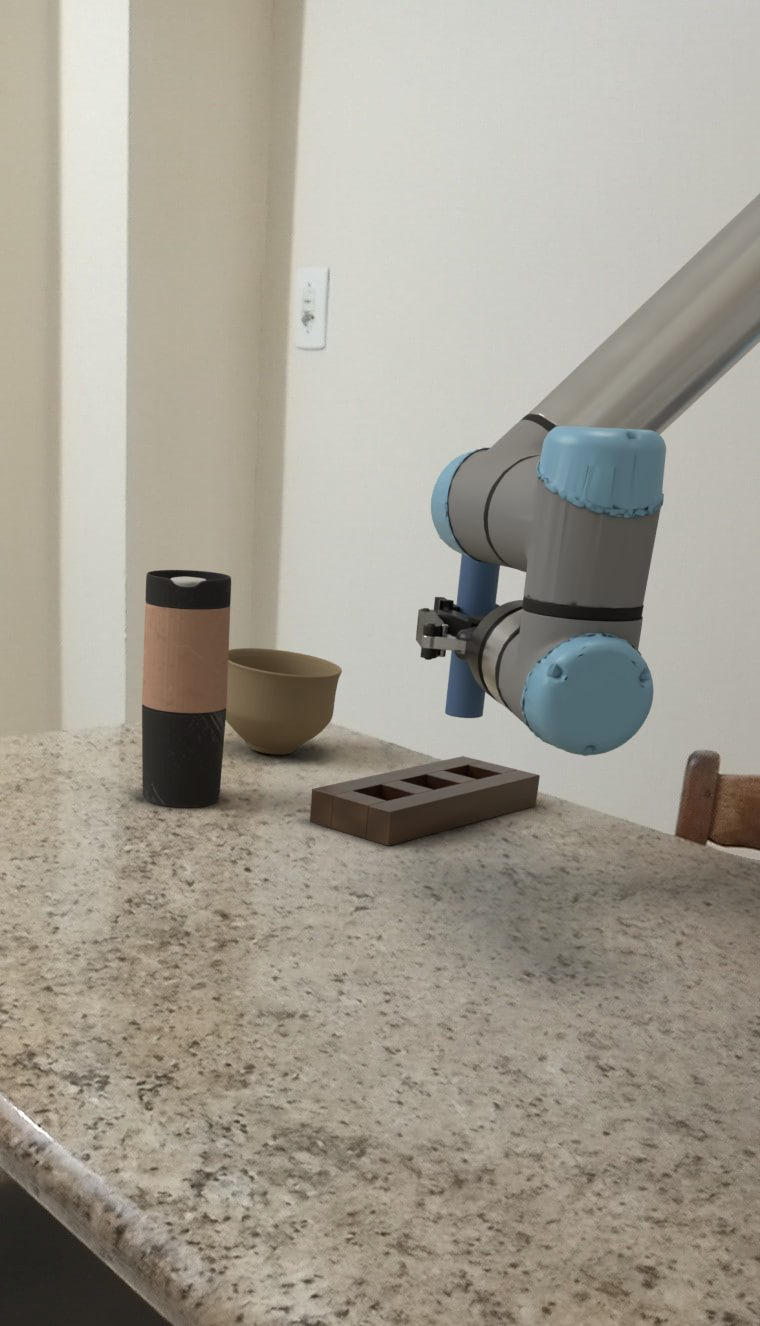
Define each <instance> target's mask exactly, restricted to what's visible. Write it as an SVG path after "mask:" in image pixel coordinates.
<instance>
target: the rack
mask: <svg viewBox="0 0 760 1326" xmlns="http://www.w3.org/2000/svg"><path fill="white" fill-rule="evenodd" d="M540 778H541V776H540V774H537V773H533V772H529V771H525V770H521V769H517V768H512V767H508V766H505V765H500V764H497V763H492V762H488V761H484V760H480V759H477V758H471V757H467V756H464V755H461V756H458V757H452V758H448V759H444V760H439V761H434V762H429V763H426V764H419V765H415V766H411V767H406V768H402V769H398V770H393V771H389V772H383V773H379V774H374V775H369V776H365V777H360V778H356V779H352V780H347V781H341V782H338V783H337V782H336V783H332V784H328V785H324V786H318V787H315V788H312V789H311V799H310V813H309V822H310V823H313V824H317V825H319V826H323V827H325V828H329V829H333V830H337V831H339V832H343V833H346V834H349V835H351V836H356V837H358V838H361V839H364V840H368V841H372V842H375V843H378V844H381V845H384V846H393V845H397V844H399V843H405V842H407V841H412V840H415V839H417V838H422V837H426V836H430V835H434V834H437V833H440V832H444V831H448V830H452V829H455V828H459V827H462V826H467V825H470V824H473V823H477V822H481V821H484V820H489V819H492V818H495V817H499V816H503V815H506V814H510V813H514V812H517V811H521V810H526V809H529V808H533V807H536V806H537V799H538V793H539V785H540Z"/></svg>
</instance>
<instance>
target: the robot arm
mask: <svg viewBox="0 0 760 1326" xmlns="http://www.w3.org/2000/svg"><path fill="white" fill-rule="evenodd" d="M758 344H760V192H759V193H758V194H757V195H756V196H755V197H754V198H753V199H752V200H751V201H750V202H749V203H748V204H746V205H745V207H743V208H742V209H741V210H740V211H739V212H738V213H737V214H736V215H735V216H734V217H733V218H732V219H730V221H729V222H727V224H726V225H724V226H723V227H722V228H721V229H720V230H719V231H718V232H717V233H716V234H715V235H714V236H713V237H712V238H711V239H710V240H709V241H708V242H707V243H706V244H704V246H702V247H701V249H699V250H698V251H697V252H696V253H695V254H694V255H693V256H692V257H690V259H689V260H688V261H686V262H685V264H683V266H682V267H681V268H679V269H678V270H677V271H676V272H675V273H674V274H673V275H672V276H671V277H669V279H668V280H666V281H665V283H663V284H662V285H661V287H659V288H658V289H657V290H656V291H655V292H654V293H653V294H652V295H651V296H649V298H648V299H647V300H646V301H645V302H644V303H642V305H640V306H639V307H638V308H637V309H636V310H635V311H634V312H633V313H632V314H631V315H630V316H628V318H626V320H625V321H624V322H623V323H622V324H621V325H619V326H618V327H617V328H616V329H615V330H614V331H613V332H612V333H611V334H610V335H609V336H608V337H607V338H606V339H604V341H603V342H602V343H601V344H600V345H598V347H596V348H595V350H593V351H592V352H591V353H590V354H589V355H588V356H587V357H586V358H585V359H584V360H582V362H581V363H579V364H578V365H577V366H576V367H575V368H574V369H573V370H572V371H571V372H570V373H569V374H568V375H567V376H566V377H565V378H564V379H563V380H562V381H561V382H559V383H558V384H557V386H555V387H554V388H553V389H552V390H551V391H550V392H549V393H548V394H547V395H546V396H545V397H544V398H543V399H542V400H541V401H539V403H537V404H536V405H535V406H534V407H533V408H532V409H531V410H530V411H529V412H528V413H527V414H526V415H524V416H523V417H522V418H521V419H520V420H519V421H517V423H515V424H514V425H513V426H512V427H511V428H510V429H509V430H508V431H507V432H506V433H505V434H503V435H502V436H501V437H500V438H499V439H498V440H497V441H496V442H495V443H494V444H493V445H492V446H490V447H481V448H479V449H478V448H476V449H473V450H471V451H468V452H465V453H462V454H460V455H458V456H457V457H455V458H453V459H452V460H451V461H449V462H448V464H446V466H445V467H444V468H443V469H442V471H441V472H440V473H439V475H438V477H437V478H436V482H435V484H434V487H433V489H432V493H431V498H430V514H431V515H430V516H431V521H432V523H433V527H434V528H435V530H436V532H437V535H438V536H439V537H438V538H439V539H440V540H441V541H442V542H444V544H446V545H447V547H449V548H450V549H452V550H453V551H455V552H457V553H459V554H461V555H462V554H463V555H465V556H467V557H469V558H470V559H471V560H475V561H477V562H478V563H485V564H496V565H500V567H504V568H505V567H506V568H511V569H514V570H518V571H520V572H524V573H525V580H524V589H523V598H522V599H517V600H512V601H509V602H505V603H503V604H501V605H499V604H498V603H496V605H495V609H494V610H493V611H491V612H490V613H489V614H488V615H487V616H477V615H471V616H467V615H465V614H462V613H460V607H459V606H457V605H456V603H454V601H455V600H453V599H452V600H451V599H447V598H446V597H444V596H443V597H442V596H434V603H433V609H430V608H429V607H423V608H420V609H418V610H417V611H418V612H417V623H416V633H415V641H416V642H417V644H418V645H419V646H420V655H419V656H420V658H422V659H424V660H427V661H431V660H433V659H437V658H438V657H439V658H445V657H446V654H447V651H455V655H456V657H457V658H459V659H461V660H464V661H468V663H469V666H470V669H471V672H472V674H473V676H474V678H475V680H476V682H477V683H478V685H479V686H480V687H481V688H482V689H483V690H484V691H485V694H487V695H488V696H490V697H491V698H492V699H493V700H495V701H496V702H497V703H499V704H500V705H502V706H503V707H505V708H506V710H508V711H509V712H510V713H512V714H513V715H514V716H515V717H516V718H517V719H518V720H519V721H521V722H522V723H523V724H524V725H525V726H526V727H527V728H528V729H529V731H530V732H532V733H533V735H534V736H535V737H536V738H538V739H540V740H541V741H542V742H543V743H546V744H548V745H550V746H553V747H555V748H556V749H559V750H562V751H564V752H566V753H569V754H573V755H578V756H584V757H588V756H597V755H602V754H606V753H609V752H612V751H614V750H617V749H618V748H620V747H621V746H623V745H625V744H626V743H627V742H628V741H629V740H631V739H632V738H633V737H634V736H635V735H636V734H637V733H638V732H639V731H640V729H641V728H642V727H643V725H644V723H645V722H646V720H647V718H648V715H649V714H650V712H651V709H652V705H653V701H654V691H655V690H654V681H653V677H652V674H651V670H650V668H649V666H648V663H647V662H646V660H645V659H644V657H643V656H642V653H641V652H640V650H639V648H640V641H641V635H642V628H643V621H644V620H643V618H644V617H643V612H644V607H645V604H644V602H645V596H646V591H647V586H648V580H649V575H650V569H651V563H652V558H653V557H652V556H653V553H654V547H655V542H656V537H657V536H656V535H657V531H658V526H659V521H660V520H659V519H660V516H661V510H662V507H663V505H664V497H665V494H664V493H663V489H664V488H663V487H664V479H665V478H664V477H665V466H666V455H667V445H666V442H665V440H664V438H663V437H662V433H664V432H665V431H666V430H667V428H668V429H669V427H670V426H671V425H672V424H673V423H675V422H676V421H677V420H678V419H679V418H680V417H681V416H682V415H683V414H684V413H686V411H688V410H689V408H691V407H692V406H693V405H694V404H695V403H696V402H697V401H698V400H699V399H700V398H701V397H703V395H704V394H706V393H707V392H708V391H709V390H710V389H711V388H712V387H713V386H714V385H715V384H717V382H719V381H720V380H721V379H722V378H723V377H724V376H725V375H726V374H727V373H729V371H730V370H731V369H732V368H733V367H735V366H736V365H737V364H738V363H739V362H740V361H741V360H742V359H743V358H744V357H745V356H746V355H748V354H749V353H750V352H751V351H752V350H753V349H754V348H755V347H756V346H758Z"/></svg>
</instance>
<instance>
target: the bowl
mask: <svg viewBox="0 0 760 1326" xmlns="http://www.w3.org/2000/svg"><path fill="white" fill-rule="evenodd" d="M342 673H343V671H342V668H341V667H340V666H339V665H338V664H336V663H334V662H332V661H330V660H326V659H324V658H320V657H317V656H314V655H309V654H304V653H300V652H294V651H289V650H281V649H272V648H259V647H258V648H257V647H248V648H246V647H242V648H241V647H240V648H231V649H229V656H228V682H227V706H226V721H225V722H226V723H227V724H228V725H229V726H230V728H231V729H232V730H233V731H235V732H236V734H237V735H238V736H239V737H240V738H241V739H243V741H244V744H245V746H246V747H248V748H249V749H250V750H252V751H255V752H257V753H262V754H267V755H273V756H274V755H275V756H283V755H289V754H292V753H294V752H295V751H296V749H297V748H298V747H300V746H302V745H304V744H306V743H307V742H309V741H311V740H312V739H314V738H315V737H317V736H318V735H320V734H321V733H322V732H323V731H324V729H326V728H327V726H328V725H329V724H330V723H331V721H332V719H333V716H334V712H335V711H334V710H335V701H336V694H337V689H338V684H339V679H340V677H341V675H342Z"/></svg>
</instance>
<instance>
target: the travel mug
mask: <svg viewBox="0 0 760 1326" xmlns="http://www.w3.org/2000/svg"><path fill="white" fill-rule="evenodd" d="M145 578H146V579H145V599H144V600H145V602H144V603H145V604H144V627H143V628H144V630H143V633H144V635H143V656H142V657H143V661H142V664H143V665H142V691H141V755H142V756H141V762H142V764H141V766H142V767H141V769H142V772H141V776H142V780H141V781H142V797H143V798H144V800H146V801H147V802H150V803H151V804H154V805H159V806H164V807H170V808H200V807H207V806H211V805H214V804H215V803H217V802H218V801H219V800H220V793H221V783H222V772H223V770H222V769H223V757H224V747H225V745H224V744H225V733H226V732H225V731H226V722H227V721H226V706H227V682H228V656H229V650H230V628H231V627H230V624H231V623H230V622H231V620H230V619H231V600H232V577H231V576H230V575H229V574H226V573H220V572H215V571H207V570H195V569H193V570H192V569H191V570H190V569H159V570H151V571H148V572H146V577H145Z"/></svg>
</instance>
